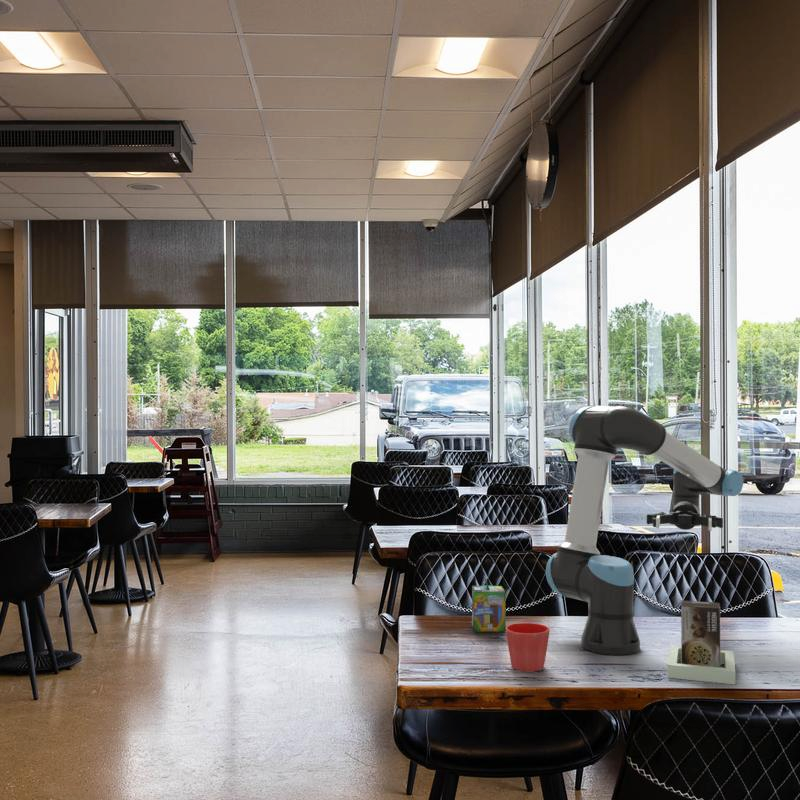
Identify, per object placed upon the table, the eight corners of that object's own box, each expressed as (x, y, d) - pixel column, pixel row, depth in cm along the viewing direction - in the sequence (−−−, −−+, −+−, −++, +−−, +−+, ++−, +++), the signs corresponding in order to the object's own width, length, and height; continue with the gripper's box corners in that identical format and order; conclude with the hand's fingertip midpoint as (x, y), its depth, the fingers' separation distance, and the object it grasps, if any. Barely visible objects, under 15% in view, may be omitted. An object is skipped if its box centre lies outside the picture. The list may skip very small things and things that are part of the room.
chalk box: (505, 632, 252) (506, 580, 252) (473, 632, 252) (473, 579, 252) (502, 624, 261) (503, 573, 261) (471, 624, 261) (471, 573, 261)
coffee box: (720, 668, 219) (720, 602, 219) (720, 676, 213) (721, 608, 213) (681, 664, 222) (681, 599, 222) (680, 672, 216) (680, 604, 216)
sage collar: (667, 677, 211) (667, 664, 211) (670, 657, 228) (670, 645, 228) (735, 684, 207) (735, 671, 207) (733, 663, 224) (733, 651, 224)
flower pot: (496, 667, 218) (496, 627, 218) (522, 658, 226) (522, 620, 226) (532, 677, 211) (532, 635, 211) (558, 667, 219) (558, 627, 219)
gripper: (730, 530, 259) (732, 541, 239) (641, 526, 267) (635, 535, 247) (730, 504, 259) (732, 512, 239) (641, 500, 267) (636, 508, 247)
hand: (683, 524), depth 243 cm, fingers open, 13 cm apart
